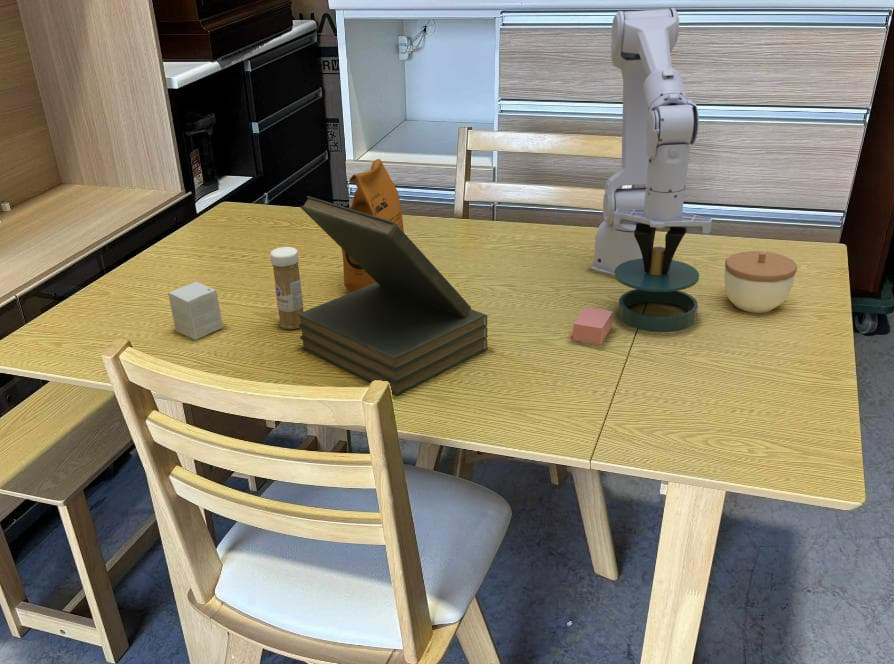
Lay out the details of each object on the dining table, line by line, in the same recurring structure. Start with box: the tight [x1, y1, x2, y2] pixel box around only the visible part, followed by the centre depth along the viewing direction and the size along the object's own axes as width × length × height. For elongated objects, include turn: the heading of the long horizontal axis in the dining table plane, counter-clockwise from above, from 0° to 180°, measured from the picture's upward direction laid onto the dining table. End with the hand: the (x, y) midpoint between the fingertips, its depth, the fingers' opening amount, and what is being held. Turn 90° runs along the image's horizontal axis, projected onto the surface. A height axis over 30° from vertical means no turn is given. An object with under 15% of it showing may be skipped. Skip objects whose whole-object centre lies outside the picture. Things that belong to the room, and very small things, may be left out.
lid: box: [613, 246, 700, 292], centre depth 138 cm, size 13×13×5 cm
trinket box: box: [723, 250, 798, 314], centre depth 142 cm, size 11×11×9 cm
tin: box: [617, 288, 699, 333], centre depth 142 cm, size 12×12×3 cm
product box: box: [167, 281, 224, 341], centre depth 148 cm, size 6×6×7 cm
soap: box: [572, 307, 614, 345], centre depth 138 cm, size 4×6×3 cm
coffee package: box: [341, 158, 405, 293], centre depth 157 cm, size 10×12×22 cm
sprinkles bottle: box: [270, 246, 304, 330], centre depth 146 cm, size 5×5×13 cm
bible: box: [298, 195, 488, 397], centre depth 133 cm, size 23×20×25 cm
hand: (656, 270), depth 139 cm, fingers closed on lid, 2 cm apart
